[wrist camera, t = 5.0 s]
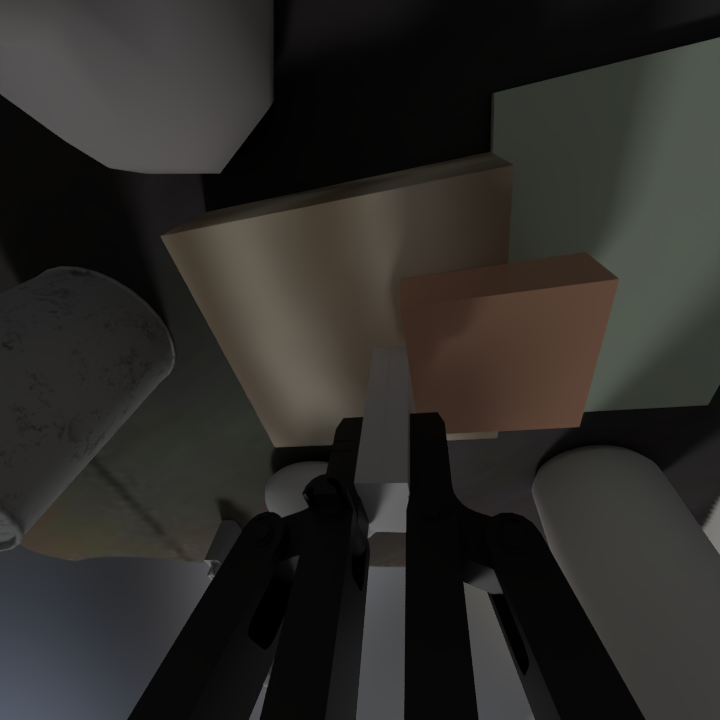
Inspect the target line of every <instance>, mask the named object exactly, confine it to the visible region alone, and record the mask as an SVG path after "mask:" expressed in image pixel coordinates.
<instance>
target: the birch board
mask: <svg viewBox="0 0 720 720" xmlns="http://www.w3.org/2000/svg"><path fill="white" fill-rule="evenodd" d="M513 171H514V165H513V164H511V163H509V162H508V161H506V160H504V159H502V158H501V157H499V156H497V155H495V154H494V153H492V152H487V153H482V154H477V155H472V156H468V157H463V158H458V159H454V160H449V161H444V162H439V163H435V164H430V165H425V166H421V167H416V168H411V169H406V170H402V171H397V172H392V173H388V174H383V175H378V176H373V177H369V178H364V179H359V180H355V181H350V182H345V183H340V184H336V185H331V186H326V187H322V188H317V189H312V190H307V191H303V192H298V193H293V194H289V195H284V196H279V197H274V198H270V199H265V200H260V201H256V202H251V203H246V204H241V205H237V206H232V207H227V208H223V209H218V210H213V211H208V212H205V213H203V214H201V215H199V216H197V217H195V218H194V219H192V220H190V221H188V222H186V223H184V224H182V225H180V226H179V227H177V228H175V229H173V230H171V231H169V232H167V233H165V234H164V235H162V236H161V238H162V240H163V242H164V244H165V246H166V248H167V249H168V251H169V253H170V255H171V257H172V259H173V260H174V262H175V264H176V266H177V268H178V270H179V271H180V273H181V275H182V277H183V279H184V281H185V282H186V284H187V286H188V288H189V290H190V292H191V294H192V295H193V297H194V299H195V301H196V303H197V305H198V306H199V308H200V310H201V312H202V314H203V316H204V317H205V319H206V321H207V323H208V325H209V327H210V328H211V330H212V332H213V334H214V336H215V338H216V339H217V341H218V343H219V345H220V347H221V349H222V351H223V352H224V354H225V356H226V358H227V360H228V362H229V363H230V365H231V367H232V369H233V371H234V373H235V374H236V376H237V378H238V380H239V382H240V384H241V385H242V387H243V389H244V391H245V393H246V395H247V397H248V398H249V400H250V402H251V404H252V406H253V408H254V409H255V411H256V413H257V415H258V417H259V419H260V420H261V422H262V424H263V426H264V428H265V430H266V431H267V433H268V435H269V437H270V439H271V441H272V443H273V444H274V446H275V447H295V446H319V445H332V444H333V442H334V441H333V440H334V435H335V431H336V428H337V427H338V425H339V424H340V422H341V421H342V420H343V418H352V417H364V410H365V403H366V397H367V390H368V383H369V376H370V369H371V362H372V355H373V348H376V347H386V346H396V345H406V344H405V337H404V330H403V323H402V316H401V310H400V281H401V279H405V278H412V277H418V276H425V275H432V274H439V273H445V272H452V271H459V270H466V269H472V268H479V267H486V266H493V265H499V264H506V263H508V255H509V238H510V221H511V204H512V188H513ZM415 413H416V412H415ZM446 438H447V440H463V439H487V438H498V431H495V432H476V433H457V434H446Z"/></svg>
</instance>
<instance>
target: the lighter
mask: <svg viewBox="0 0 720 720" xmlns="http://www.w3.org/2000/svg"><path fill="white" fill-rule="evenodd" d="M241 532H242V529H241V528H240V527H239V525H238V524H237V523H236V521H234V520H222V522H221V524H220V526H219V528H218V531H217V533H216V535H215V537H214V540H213V542H212V544H211V546H210V549H209V551H208V553H207V555H206V558H205V560H204V561H205V562H206V563H207V564H208V565H209V566H210V567H211V568H210V570H209V572H208V575H207V576H208V577H210V578H211V579H212V580H213V578H214V576H215V575H216V573H217V572H218V570H219V568H220V567H221V565H222V563H223V562H224V560H225V558H226V557H227V555H228V553H229V552H230V550H231V549H232V547H233V545H234V544H235V542H236V540H237V539H238V537H239V535H240V534H241Z"/></svg>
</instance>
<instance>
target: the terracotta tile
mask: <svg viewBox="0 0 720 720" xmlns="http://www.w3.org/2000/svg"><path fill="white" fill-rule="evenodd" d="M618 282H619V278H618V277H616V276H615V275H614V274H613V273H611V272H610V271H609V270H608V269H606V268H605V267H604V266H603V265H601V264H600V263H599V262H598V261H596V260H595V259H594V258H593V257H591V256H590V255H589V254H588V253H586V252H580V253H573V254H567V255H560V256H553V257H546V258H540V259H533V260H526V261H519V262H513V263H506V264H499V265H493V266H486V267H479V268H472V269H466V270H459V271H452V272H445V273H439V274H432V275H425V276H418V277H412V278H405V279H401V281H400V310H401V316H402V323H403V330H404V337H405V344H406V350H407V357H408V361H409V368H410V374H411V381H412V388H413V395H414V402H415V412H416V413H428V412H438V413H439V415H440V416H441V418H442V419H443V421H444V422H445V428H446V434H457V433H476V432H495V431H513V430H532V429H550V428H569V427H580V423H581V420H582V416H583V412H584V409H585V405H586V401H587V397H588V394H589V390H590V386H591V383H592V379H593V375H594V371H595V368H596V364H597V360H598V357H599V353H600V349H601V345H602V342H603V338H604V334H605V331H606V327H607V323H608V319H609V316H610V312H611V308H612V305H613V301H614V297H615V294H616V290H617V286H618Z"/></svg>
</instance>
